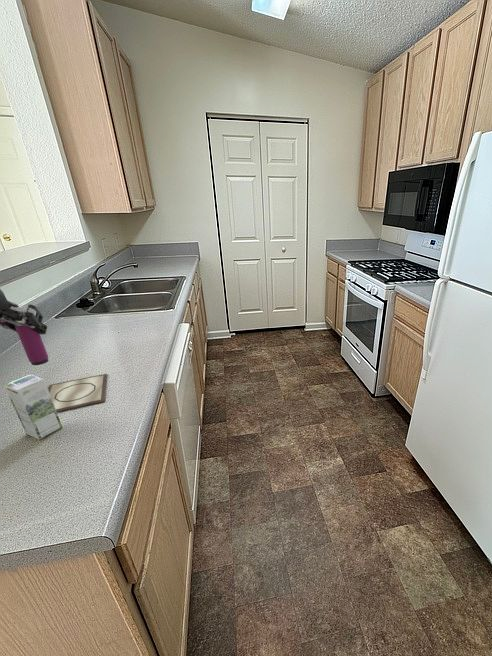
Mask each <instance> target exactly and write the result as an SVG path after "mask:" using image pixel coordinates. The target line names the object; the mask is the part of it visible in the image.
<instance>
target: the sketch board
mask: <svg viewBox="0 0 492 656" xmlns="http://www.w3.org/2000/svg"><path fill="white" fill-rule="evenodd" d="M107 384H108V373H103V374H98V375H93V376H86V377H82V378H77V379H73V380H66V381H62V382H58V383H57V382H56V383H52V384H49V385H48V387H47V389H48V391H49V394H50V396H51V399H52V401H53V404H54V406H55V409H56V412H57V414H58V413H62V412H67V411H71V410H75V409H79V408H86V407H89V406H94V405H97V404H102V403H106V396H107V395H106V394H107V386H108V385H107Z"/></svg>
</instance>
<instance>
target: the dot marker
mask: <svg viewBox="0 0 492 656" xmlns="http://www.w3.org/2000/svg"><path fill="white" fill-rule="evenodd" d="M17 320H18V319H17ZM26 322H27V323H28V322H29V320H28V319H26ZM14 326H15V328H16V331H17V332H16V333H17V335H18V339H19V341H20V342H21V346H22V347H23V350H24V353H25V355H26V357H27V359H28V362H29V363H31V365H32V366H40V365H44V364H46V363H48V362H49V354H48V352H47V349H46V347H45V344H44V341H43V338H42V337H41V334H39V333H37V332H35V331H33V330H32V329H30V328H28V327H25V326H23V325H22V326H17V325H14Z"/></svg>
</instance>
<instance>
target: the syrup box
mask: <svg viewBox="0 0 492 656" xmlns="http://www.w3.org/2000/svg"><path fill="white" fill-rule="evenodd" d="M3 386H4V389H5V391H6V394H7V395H8V397H9V400H10V402H11V405H12V406H13V408H14V411H15V412H16V413H15V414H16V415H17V417H18V419H19V421H20V424H21V425H22V428H23V430H24V433H25V434H27V435H28V436H31V437H32V438H35V439H37V440H39V441H40V440H42V439H44V438H46V437H48V436H49V435H51V434H53V433H56V432H57V431H59V430H60V429H63V424H62V421H61V419H60V416H59V414H58V413H57V412H56V409H55V406H54V404H53V401H52V399H51V396H50V394H49V391H48V387H47V383H46V381H45V379H43V378H41V377H39V376H37V375H35V374H28V375H25V376H22V377H20V378H18V379H15V380H13V381H10V382H8V383H5V384H3Z"/></svg>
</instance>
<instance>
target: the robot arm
mask: <svg viewBox="0 0 492 656" xmlns="http://www.w3.org/2000/svg"><path fill="white" fill-rule="evenodd" d="M43 318H44V315H43V314H42V313H41V311H40V310H39V309H38V308H37V306H36V305H34V304H27V307H24V306H23V307H22V306H19V305H18V304H17V303H15V302H12V301H10V300H8V299H7V297H6V295H5V293H4V291H3V290H2V289H1V288H0V327H1V328H3V329H6V330H11V331H13V332H15V333H17V331H16V328H15V326H14V325H17V326H22V325H23V326H25V327H28V328H30V329H32V330H33V331H35V332H37V333H39V334H40V336H41V335H46V334H47V330H48V325H47V324H44V323H43ZM17 319H18V320H17ZM26 319H28V320H29V322H28V323H27V322H26Z"/></svg>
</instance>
